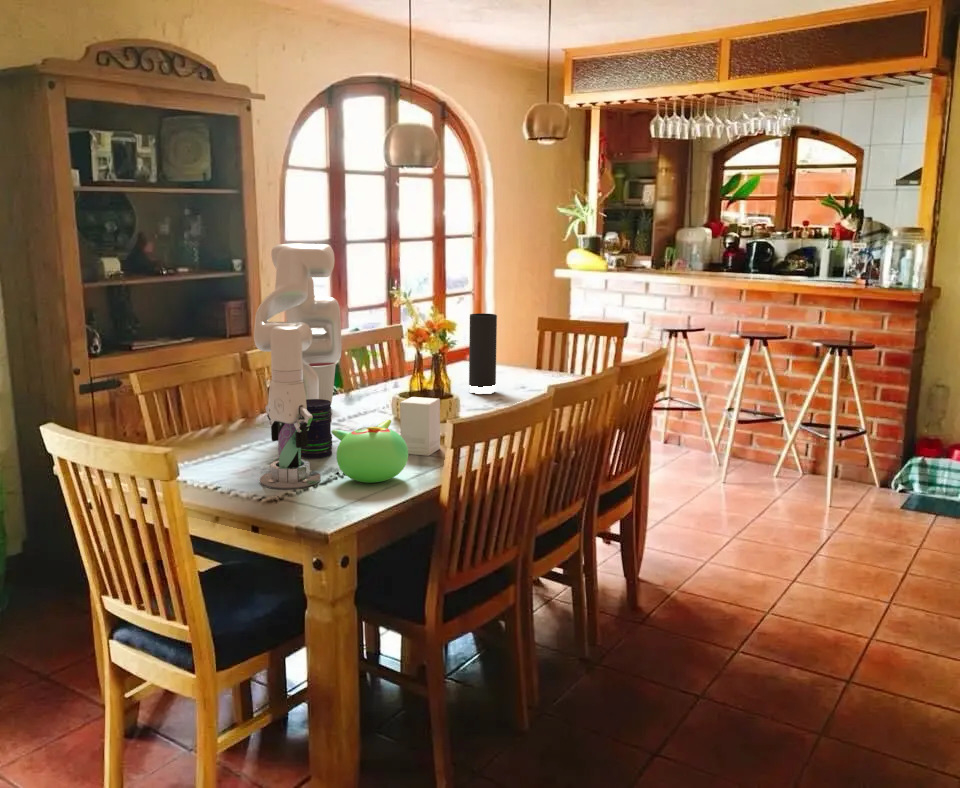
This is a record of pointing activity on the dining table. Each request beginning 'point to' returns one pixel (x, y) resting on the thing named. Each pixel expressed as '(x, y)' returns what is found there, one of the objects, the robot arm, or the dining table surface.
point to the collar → (290, 476)
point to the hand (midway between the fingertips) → (289, 443)
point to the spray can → (288, 446)
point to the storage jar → (318, 430)
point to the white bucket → (325, 379)
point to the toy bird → (371, 453)
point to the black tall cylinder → (482, 349)
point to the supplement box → (420, 425)
